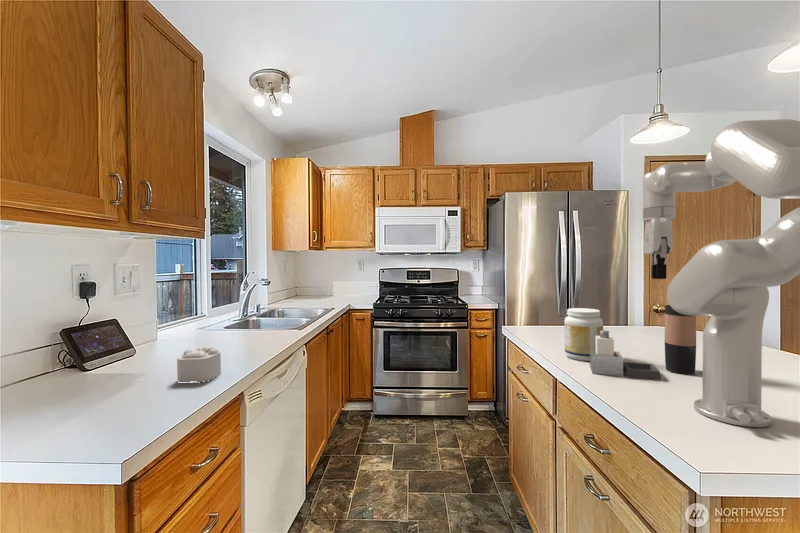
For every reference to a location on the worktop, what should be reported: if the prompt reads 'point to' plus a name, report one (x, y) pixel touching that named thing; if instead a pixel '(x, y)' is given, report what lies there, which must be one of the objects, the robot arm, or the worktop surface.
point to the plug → (604, 344)
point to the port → (606, 364)
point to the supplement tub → (581, 332)
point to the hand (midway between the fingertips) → (658, 278)
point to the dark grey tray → (641, 370)
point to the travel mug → (680, 342)
